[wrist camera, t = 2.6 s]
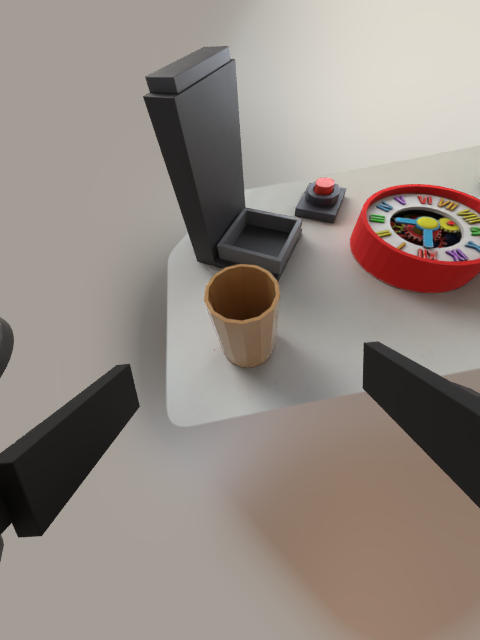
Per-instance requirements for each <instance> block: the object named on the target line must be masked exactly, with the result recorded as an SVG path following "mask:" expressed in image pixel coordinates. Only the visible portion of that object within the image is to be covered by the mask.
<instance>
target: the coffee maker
mask: <svg viewBox="0 0 480 640" xmlns="http://www.w3.org/2000/svg"><path fill="white" fill-rule="evenodd" d="M146 81H147V84H148V87H149V91H150V93H148V94H146V95H145V96H143V98H144V101H145V103H146V107H147V109H148V113H149V116H150V119H151V122H152V125H153V128H154V131H155V134H156V137H157V140H158V143H159V146H160V149H161V152H162V155H163V158H164V161H165V164H166V167H167V170H168V173H169V176H170V179H171V182H172V185H173V188H174V191H175V194H176V197H177V200H178V203H179V206H180V209H181V213H182V215H183V219H184V222H185V224H186V227H187V231H188V234H189V237H190V240H191V243H192V246H193V249H194V252H195V255H196V258H197V261H200V262H203V263H206V264H210V265H213V266H217V267H220V268H226V267H230V266H234V265H238V264H249V265H257V266H259V267H261V268H263V269H265V270H267V271H269V272H270V273H271V274H272V275H273V276H274V278H275V279H276V280H277V281H278V280H279V278H280V276H281V274H282V272H283V270H284V268H285V266H286V264H287V262H288V260H289V258H290V255H291V253H292V251H293V249H294V247H295V245H296V243H297V241H298V239H299V237H300V235H301V232H302V229H301V225H302V219H301V218H296V217H291V216H286V215H281V214H276V213H271V212H265V211H260V210H255V209H250V208H245V197H244V182H243V169H242V153H241V139H240V124H239V111H238V95H237V82H236V67H235V59H230V53H229V46H223V47H222V46H221V47H203V48H201V49H199V50H197V51H195V52H193V53H191V54H189V55H187V56H185V57H183V58H181V59H179V60H177V61H175V62H174V63H171V64H169V65H167V66H166V67H163V68H162V69H159V70H157V71H155V72H154V73H152V74H150V75H148V76H146Z"/></svg>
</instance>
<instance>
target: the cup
mask: <svg viewBox="0 0 480 640" xmlns="http://www.w3.org/2000/svg"><path fill="white" fill-rule="evenodd" d="M279 301H280V291H279V284H278V281H277V280H276V279H275V278H274V276H273V275H272V274H271V273H270V272H269V271H267V270H265V269H263V268H261V267H259V266H257V265H249V264H238V265H234V266H230V267H226V268H224V269H223V270H221V271H219V272H218V273H216V274H215V275H213V277H212V278H211V279H210V281H209V282H208V284H207V285H206V287H205V296H204V302H205V304H206V307H207V310H208V312H209V315H210V318H211V321H212V323H213V326H214V329H215V331H216V334H217V337H218V339H219V342H220V345H221V347H222V350H223V352H224V354H225V356H226V357H227V358H228V360H229V361H231V362H232V363H233V364H235V365H237V366H240V367H255V366H258V365H260V364H262V363H264V362H265V361H266V360H267V359H268V358H269V357H270V355H271V354H272V352H273V349H274V346H275V338H276V328H277V319H278V310H279Z"/></svg>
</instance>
